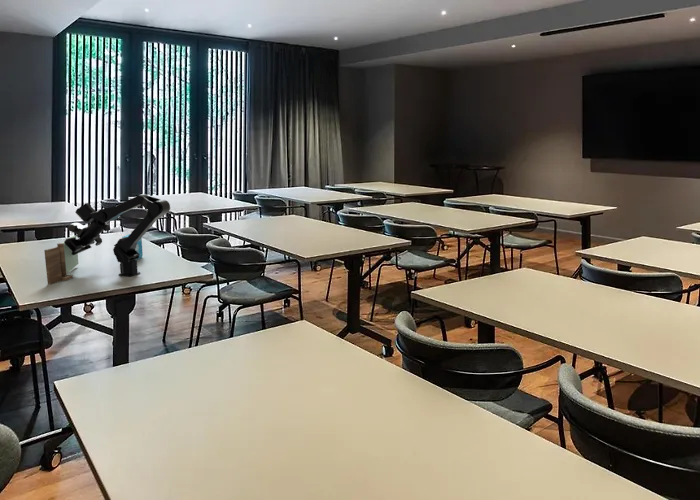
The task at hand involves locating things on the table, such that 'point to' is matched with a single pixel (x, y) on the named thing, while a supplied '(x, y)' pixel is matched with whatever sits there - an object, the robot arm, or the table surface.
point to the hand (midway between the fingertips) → (72, 254)
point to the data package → (138, 247)
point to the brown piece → (56, 264)
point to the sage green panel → (70, 258)
